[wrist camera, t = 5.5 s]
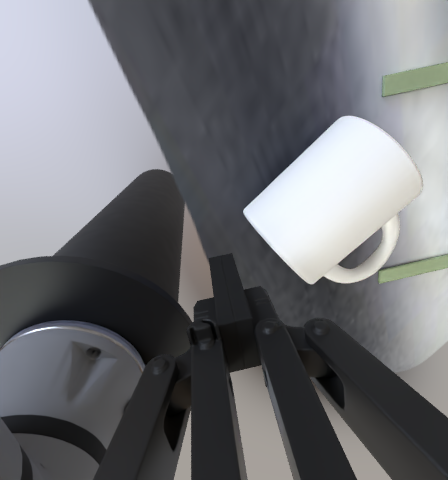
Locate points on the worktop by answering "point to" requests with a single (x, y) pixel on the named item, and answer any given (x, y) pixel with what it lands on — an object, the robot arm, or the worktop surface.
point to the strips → (399, 85)
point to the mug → (337, 201)
